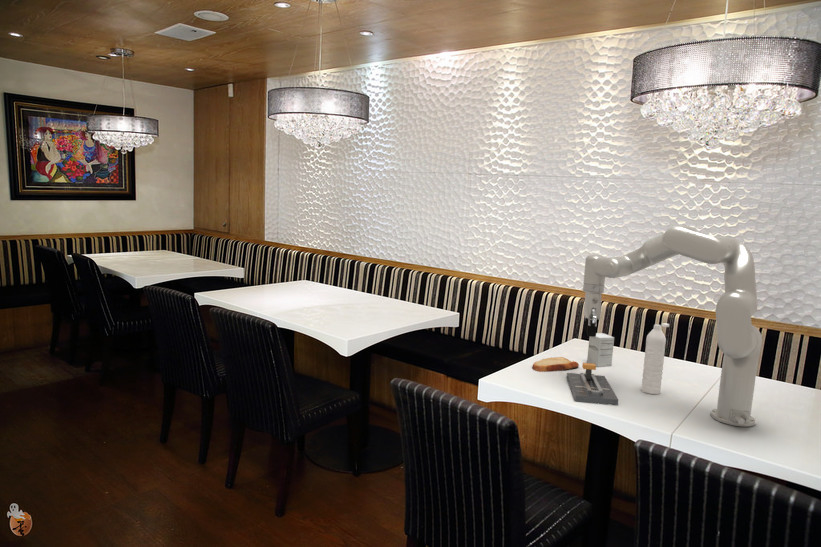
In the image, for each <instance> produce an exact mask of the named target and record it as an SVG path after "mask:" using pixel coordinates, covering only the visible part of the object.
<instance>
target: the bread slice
mask: <svg viewBox="0 0 821 547" xmlns="http://www.w3.org/2000/svg"><path fill="white" fill-rule="evenodd" d="M579 366H580V365H579V362H577V361H574V360H572V361H571V360H570V359H568V358H566V357H563V356H557V357H548V358H542V359H541V360H540V359H539V360H538V361H535V362H534V363H533V364H532V367H531V368H532V370H533V371H535V372H539V373H543V372H544V373H547V372H548V373H549V372H550V373H551V372H560V371H569V370H573V369H577V368H579Z"/></svg>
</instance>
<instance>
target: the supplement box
mask: <svg viewBox="0 0 821 547" xmlns="http://www.w3.org/2000/svg"><path fill="white" fill-rule="evenodd" d="M588 337H589V338H588V339H589V340H588V346H587V347H588V349H587V358H586V359H587V360H586V361H587V362H586V363H593V364H595V365H596V368H603V367H605V368H606V366H607V367H612V364H613V363H612V362H613V353H614V344H615V336H612V335H609V334H606V333H604V332H596V336H595V337H591V336H588Z"/></svg>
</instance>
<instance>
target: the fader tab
mask: <svg viewBox="0 0 821 547" xmlns="http://www.w3.org/2000/svg"><path fill="white" fill-rule="evenodd" d="M581 366H582V369H583V370H585V378H586V379H588V380H591V374H593V373H592V371H596V370H597V367H596V365H595V364H593V363H589V362H582V365H581Z"/></svg>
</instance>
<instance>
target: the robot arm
mask: <svg viewBox="0 0 821 547" xmlns="http://www.w3.org/2000/svg"><path fill="white" fill-rule="evenodd" d="M678 255H680V256H683V257H686V258H689V259H692V260H695V261H699V262H700V263H704V264H709V265H716V264H723V266H724V273H723V275H724V277H723V280H724V281H723V282H724V294H723V295H721V296H720V297H719V299H718V300H717V301H716V305H715V322H716V326H715V327H716V338H717V339H716V340H717V346H718V348H719V349H720V351H721V352H722V354H723V359H722V366H721V370H720V371H721V374H720V380H719V381H720V382H719V388H718V397H717V405H716V408H715V409H712V410H711V411H710V416H711V417H712V418H713V419H715V420H716V421H718V422H720V423H723V424H727V425H731V426H733V427H734V426H735V427H741V428H742V427H746V428H747V427H753V426H755V425H756V422H757V421H756V418H754V417H753V416H752V415H751V414H752V407H753V402H754V401H753V399H754V392H755V385H756V377H757V372H758V365H759V359H760V354H761V351H762V344H763V337H762V333H761V332H760V330H759V328H757V327H756V326H755V325H753V324H752V317H753V316H755V314H756V312H757V310H758V296H757V283H756V282H757V280H756V268H755V260H754V257H753V256H754V255H753V254H752V252H751V250H750V249H749V248H748V246H747V245H746V244H744V243H743V242H742V241H740V240H738V239H735V238H733V237H731V236H727V235H726V236H724V235H722V236H721V235H719V236H712V235H707V234H704V233H701V232H697V230H696V229H695V228H693V227H692V226H689V225H683V224H682V225H674V226H673V225H672V226H671V227H668V229H667V230H665V232H664V233H662V234H660V235H657V236H655V237H653V238H650V239H648V240H646V241H644V243H643V244H642V246H640V247H639V248H637V249H634V250H633V251H630V252H628V253H627V254H624V255H621V256H614V257H613V256H612V257H606V256H603V255H595V254H591V255H590V254H589V255H587V256H586V257H585V263H584V273H583V274H584V275H583V284H582V287H583V288H582V292H583V293H585V295H584V304H583V305H584V306H583V314H584V320H583V328H582V329H583V331H584V332H586V336H587V337H590V336H591V337H595V336H596V333H597V325H598V324H597V320H599V321H600V320H601V318H602V317H601V315H602V294H604V293H605V283H606V278H608V279H617V278H618V279H619V278H621V277H627V276H629V275H632V274H635V273H638V272H640V271H641V270H644V269H646V268H649V267H651V266H654V265H656V264H658V263H661V262H664V261H666V260H667V259H670V258H673V257H676V256H678Z"/></svg>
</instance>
